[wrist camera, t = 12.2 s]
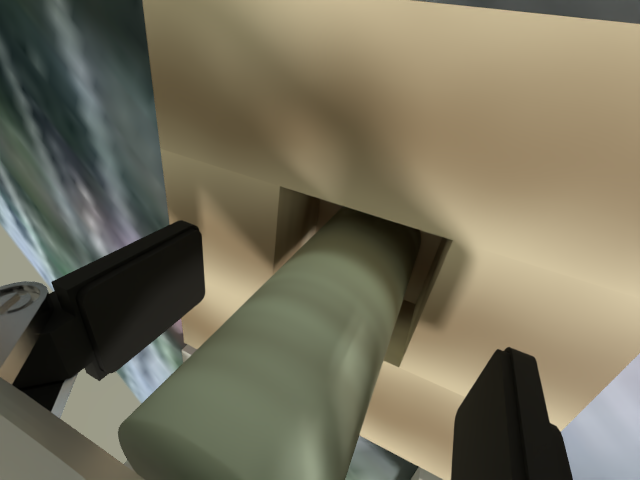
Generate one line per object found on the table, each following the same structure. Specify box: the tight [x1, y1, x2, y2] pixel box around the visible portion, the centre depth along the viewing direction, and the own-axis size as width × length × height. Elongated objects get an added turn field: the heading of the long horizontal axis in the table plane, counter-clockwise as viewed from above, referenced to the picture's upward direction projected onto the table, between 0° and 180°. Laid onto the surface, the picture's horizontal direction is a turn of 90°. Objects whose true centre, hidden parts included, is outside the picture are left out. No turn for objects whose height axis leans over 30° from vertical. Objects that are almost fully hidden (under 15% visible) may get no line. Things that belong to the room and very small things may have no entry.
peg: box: [118, 206, 421, 480], centre depth 10 cm, size 4×4×11 cm
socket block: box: [142, 0, 640, 480], centre depth 13 cm, size 16×16×5 cm
